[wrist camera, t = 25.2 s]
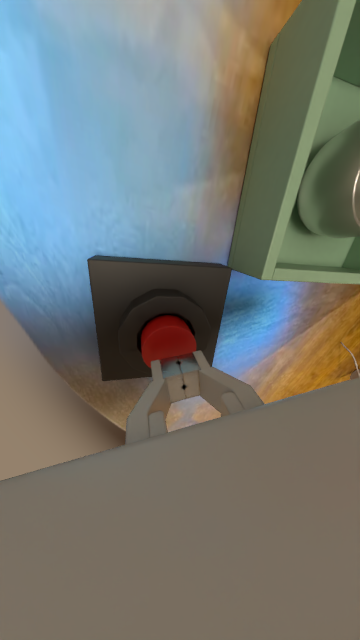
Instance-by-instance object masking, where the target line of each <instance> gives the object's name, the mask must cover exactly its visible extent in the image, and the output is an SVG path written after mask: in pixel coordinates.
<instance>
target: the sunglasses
mask: <svg viewBox="0 0 360 640" xmlns="http://www.w3.org/2000/svg"><path fill="white" fill-rule="evenodd" d="M341 344H342V345H343V343H342V342H341ZM343 346H344V345H343ZM344 347H345V346H344ZM345 348H346V347H345ZM346 349H347V348H346ZM347 350H348V349H347ZM348 351H349V350H348ZM349 352H350V351H349ZM350 354H351V355H352V357H353V359H354V363H355V366H356V368H357V367H358V366H357V363H356V360H355V357H354V356H353V354H352V353H351V352H350ZM358 377H360V369H358V368H357V370H356V371H354V372H353V373H352V374H351V376H350V379H354V378H358Z"/></svg>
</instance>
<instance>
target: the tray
mask: <svg viewBox="0 0 360 640" xmlns="http://www.w3.org/2000/svg"><path fill="white" fill-rule="evenodd" d="M358 120H360V0H302V2H301V3H300V4H299V6H298V7H297V9H296V10H295V11H294V13H293V14H292V16H291V17H290V18H289V20H288V21H287V23H286V24H285V25H284V27H283V28H282V30H281V32H280V33H279V34H278V35H277V37H276V38H275V39H274V41H273V42H272V44H271V46H270V51H269V56H268V61H267V66H266V71H265V76H264V82H263V87H262V92H261V97H260V102H259V107H258V112H257V118H256V123H255V128H254V133H253V138H252V143H251V148H250V153H249V159H248V164H247V169H246V174H245V179H244V184H243V189H242V195H241V200H240V205H239V210H238V215H237V220H236V225H235V230H234V236H233V241H232V246H231V251H230V256H229V261H228V266H227V267H230V268H232V269H233V270H235V271H238V272H241V273H244V274H247V275H249V276H252V277H255V278H258V279H260V280H276V281H298V282H320V283H342V284H360V236H359V237H349V238H332V237H327V236H322V235H318V234H315V233H313V232H311V231H310V230H309V229H308V228H307V227H306V226H305V225H304V223H303V222H302V220H301V219H300V216H299V214H298V209H297V195H298V190H299V187H300V184H301V180H302V177H303V175H304V173H305V171H306V170H307V168H308V166H309V165H310V163H311V162H312V160H313V159H314V157H315V156H316V154H317V153H318V152H319V151H320V149H321V148H322V147H323V146H324V145H325V144H326V143H327V142H328V141H329V140H331V139H332V138H333V137H335V136H336V135H338V134H339V133H341V132H342V131H343V130H345V129H346V128H348V127H349V126H351V125H352V124H354V123H355V122H357V121H358Z"/></svg>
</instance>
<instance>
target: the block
mask: <svg viewBox="0 0 360 640" xmlns="http://www.w3.org/2000/svg"><path fill="white" fill-rule="evenodd" d="M87 261H88V269H89V277H90V285H91V293H92V301H93V309H94V317H95V324H96V332H97V340H98V348H99V356H100V364H101V372H102V380H103V381H110V380H121V379H132V378H143V377H152V370H151V368H150V367H148V366H147V365H146V363H145V362H144V360H143V357H142V349H141V334H142V331H143V329H144V327H145V326H146V325H147V324H148V323H149V322H150V321H151V320H153V319H154V318H156V317H159V316H163V315H172V316H176V317H179V318H180V319H182V320H183V321H184V322H185V323H186V324H187V326H188V327H189V329H190V331H191V333H192V334H193V336H194V338H195V340H196V351H199V350H201V351H202V353H203V355H204V357H205V358H206V360H207V362H208V364H209V365H210V367H212V363H213V358H214V353H215V348H216V343H217V338H218V333H219V328H220V324H221V319H222V314H223V309H224V304H225V299H226V294H227V290H228V285H229V280H230V275H231V270H232V268H230V267H227V266H225V265H222V264H215V263H200V262H185V261H170V260H155V259H140V258H125V257H110V256H93V257H91V258H89V259H88V260H87Z"/></svg>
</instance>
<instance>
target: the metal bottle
mask: <svg viewBox="0 0 360 640" xmlns="http://www.w3.org/2000/svg"><path fill="white" fill-rule="evenodd" d="M297 209H298V214H299V216H300V219H301V220H302V222H303V223H304V225H305V226H306V227H307V228H308V229H309V230H310V231H311V232H313V233H315V234H318V235H322V236H327V237H332V238H349V237H359V236H360V120H358V121H357V122H355V123H354V124H352V125H351V126H349V127H348V128H346V129H345V130H343V131H342V132H341V133H339V134H338V135H336V136H335V137H333V138H332V139H331V140H329V141H328V142H327V143H326V144H325V145H324V146H323V147H322V148H321V149H320V151H319V152H318V153H317V154H316V156H315V157H314V159H313V160H312V162H311V163H310V165H309V166H308V168H307V170H306V171H305V173H304V175H303V177H302V180H301V184H300V187H299V190H298V195H297Z"/></svg>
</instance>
